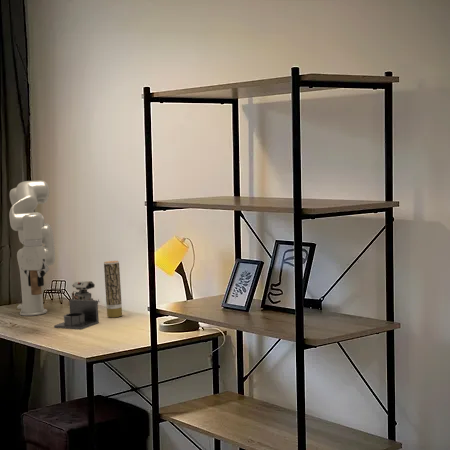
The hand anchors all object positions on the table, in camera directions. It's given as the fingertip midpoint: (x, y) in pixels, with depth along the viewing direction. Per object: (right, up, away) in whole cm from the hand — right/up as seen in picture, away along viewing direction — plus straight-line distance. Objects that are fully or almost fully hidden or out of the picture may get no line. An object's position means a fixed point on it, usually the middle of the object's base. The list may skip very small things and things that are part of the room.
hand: (36, 285), depth 351 cm
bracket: (+16, -18, +7) cm, 25 cm away
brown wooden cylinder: (0, -4, 0) cm, 4 cm away
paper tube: (+30, -16, +23) cm, 41 cm away
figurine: (+15, -16, +35) cm, 41 cm away
